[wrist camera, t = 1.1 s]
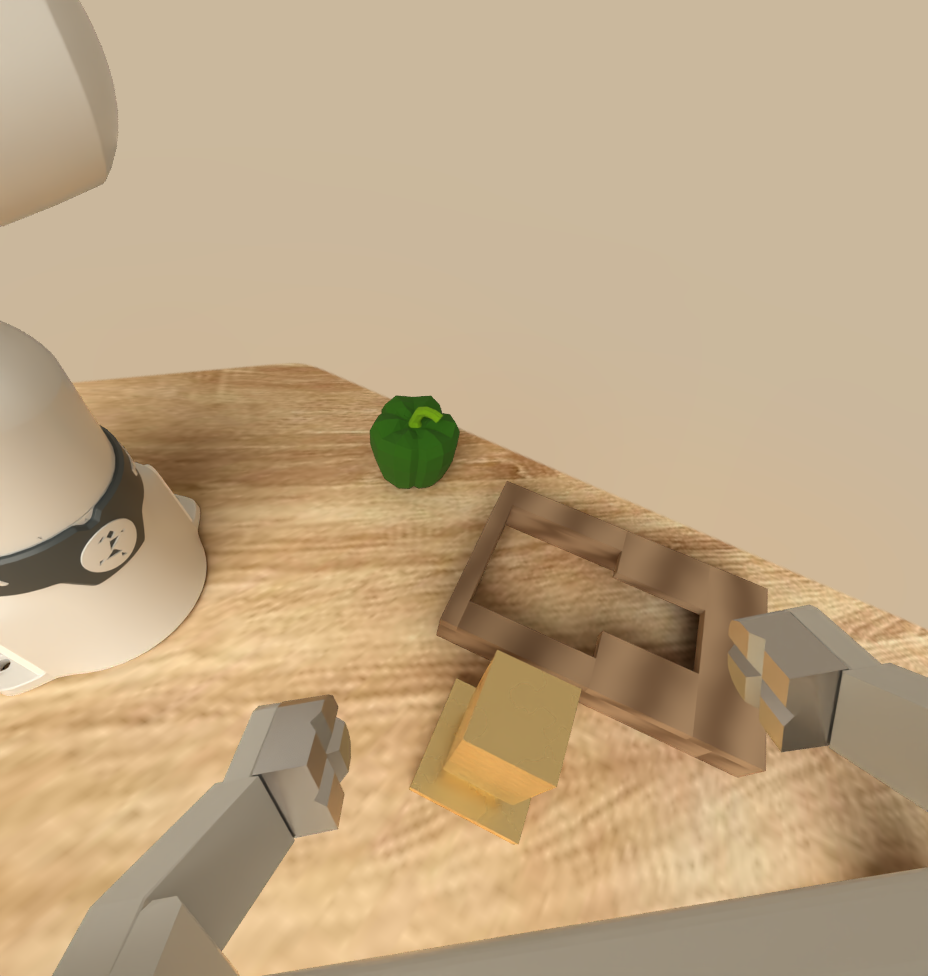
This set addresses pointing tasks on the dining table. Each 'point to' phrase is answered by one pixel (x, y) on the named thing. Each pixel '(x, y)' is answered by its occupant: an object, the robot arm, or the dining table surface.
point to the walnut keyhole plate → (616, 663)
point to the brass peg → (498, 745)
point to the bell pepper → (413, 441)
